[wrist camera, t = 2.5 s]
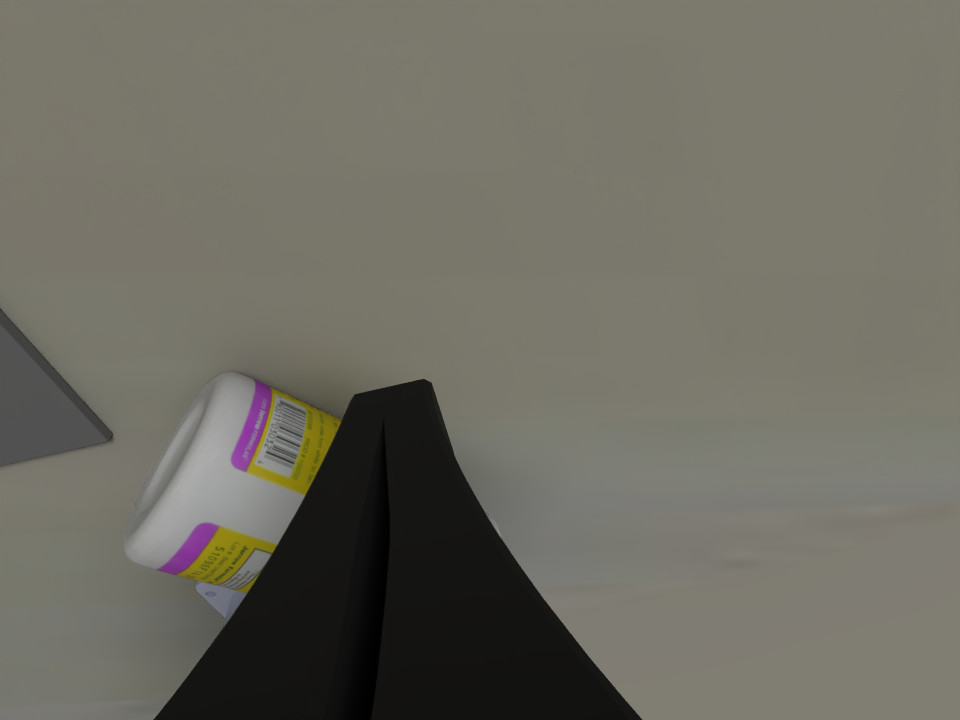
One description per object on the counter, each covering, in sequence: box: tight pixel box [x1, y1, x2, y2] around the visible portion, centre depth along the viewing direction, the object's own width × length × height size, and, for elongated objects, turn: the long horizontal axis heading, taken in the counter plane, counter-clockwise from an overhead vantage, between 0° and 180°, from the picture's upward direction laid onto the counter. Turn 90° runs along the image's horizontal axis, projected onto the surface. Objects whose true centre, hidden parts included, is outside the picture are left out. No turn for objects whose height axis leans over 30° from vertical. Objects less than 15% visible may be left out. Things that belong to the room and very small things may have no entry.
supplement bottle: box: [124, 372, 501, 594], centre depth 21 cm, size 7×7×13 cm
